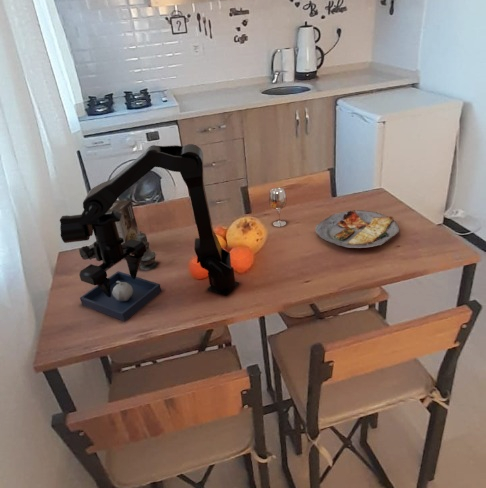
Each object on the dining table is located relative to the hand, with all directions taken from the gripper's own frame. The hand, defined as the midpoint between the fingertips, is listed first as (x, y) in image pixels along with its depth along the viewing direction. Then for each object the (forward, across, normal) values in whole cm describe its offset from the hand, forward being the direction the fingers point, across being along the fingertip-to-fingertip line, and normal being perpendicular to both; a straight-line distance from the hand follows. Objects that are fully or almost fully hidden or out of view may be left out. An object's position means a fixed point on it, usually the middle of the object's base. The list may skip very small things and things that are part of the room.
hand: (121, 287), depth 126 cm
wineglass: (+4, -55, +18) cm, 58 cm away
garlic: (+4, 0, 0) cm, 4 cm away
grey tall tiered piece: (+4, -16, -6) cm, 17 cm away
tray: (+4, 0, -1) cm, 4 cm away
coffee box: (+4, -20, -19) cm, 28 cm away
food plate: (+4, -58, +44) cm, 73 cm away
